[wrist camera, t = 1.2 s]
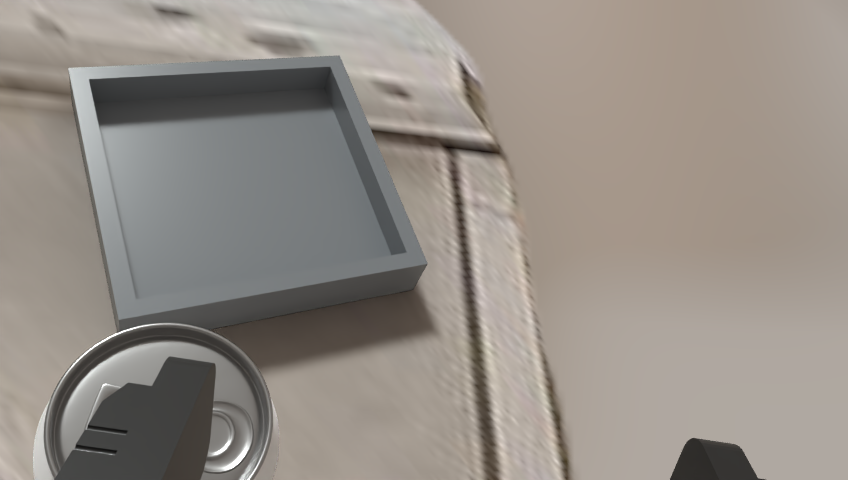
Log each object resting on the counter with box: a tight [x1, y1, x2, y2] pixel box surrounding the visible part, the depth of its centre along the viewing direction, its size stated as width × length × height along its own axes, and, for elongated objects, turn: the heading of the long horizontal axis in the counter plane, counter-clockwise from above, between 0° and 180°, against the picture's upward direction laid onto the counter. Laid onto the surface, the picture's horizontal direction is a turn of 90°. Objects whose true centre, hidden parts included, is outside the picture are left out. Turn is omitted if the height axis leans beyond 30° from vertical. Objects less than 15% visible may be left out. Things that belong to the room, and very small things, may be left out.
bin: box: [68, 56, 427, 333], centre depth 38 cm, size 14×14×2 cm
